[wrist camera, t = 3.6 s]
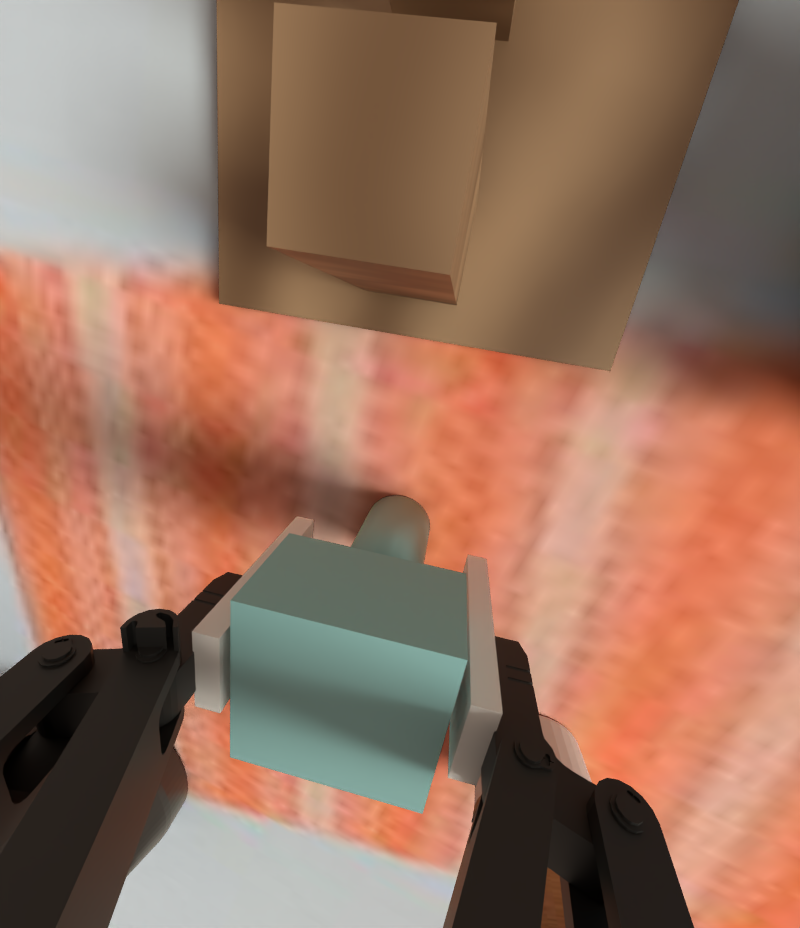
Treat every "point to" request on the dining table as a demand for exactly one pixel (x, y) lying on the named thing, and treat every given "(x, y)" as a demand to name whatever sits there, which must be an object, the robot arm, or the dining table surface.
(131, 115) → the dining table surface
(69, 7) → the dining table surface
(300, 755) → the peg
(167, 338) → the dining table surface
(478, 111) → the bracket
